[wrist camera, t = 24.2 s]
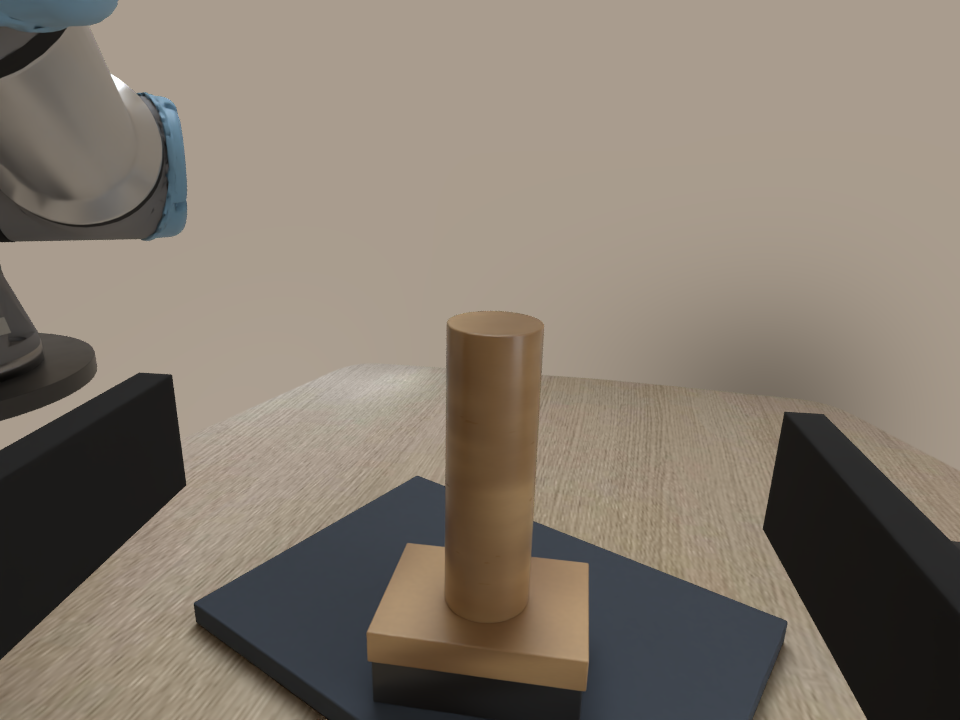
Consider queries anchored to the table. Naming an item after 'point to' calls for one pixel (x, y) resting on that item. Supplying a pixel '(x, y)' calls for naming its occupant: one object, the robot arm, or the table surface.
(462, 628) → the wooden peg stand
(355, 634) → the scrub mat
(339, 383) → the table surface
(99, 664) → the table surface
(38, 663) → the table surface
